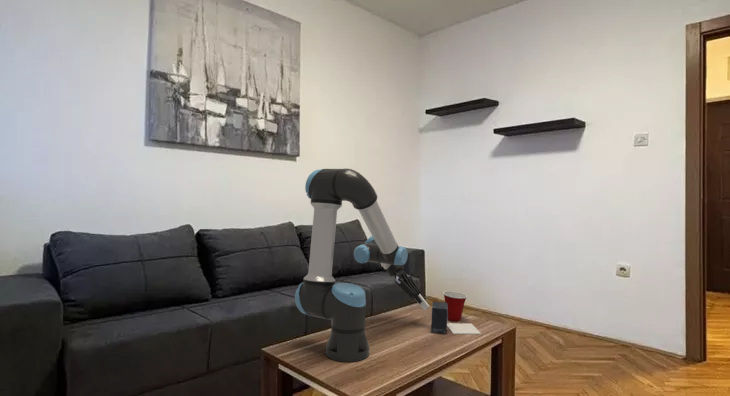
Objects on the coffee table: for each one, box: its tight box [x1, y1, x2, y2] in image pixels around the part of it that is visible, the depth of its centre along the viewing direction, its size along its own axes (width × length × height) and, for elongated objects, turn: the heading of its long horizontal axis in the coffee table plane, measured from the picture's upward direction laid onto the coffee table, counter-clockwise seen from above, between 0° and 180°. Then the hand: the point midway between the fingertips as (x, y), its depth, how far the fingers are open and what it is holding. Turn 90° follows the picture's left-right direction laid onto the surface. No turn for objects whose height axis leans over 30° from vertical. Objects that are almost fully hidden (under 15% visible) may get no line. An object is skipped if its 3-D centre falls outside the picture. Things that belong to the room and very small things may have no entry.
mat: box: [447, 322, 482, 335], centre depth 175 cm, size 12×13×1 cm
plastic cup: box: [442, 290, 468, 323], centre depth 187 cm, size 11×11×12 cm
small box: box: [430, 301, 448, 335], centre depth 173 cm, size 11×6×10 cm, turn 168°
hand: (427, 308), depth 176 cm, fingers closed
